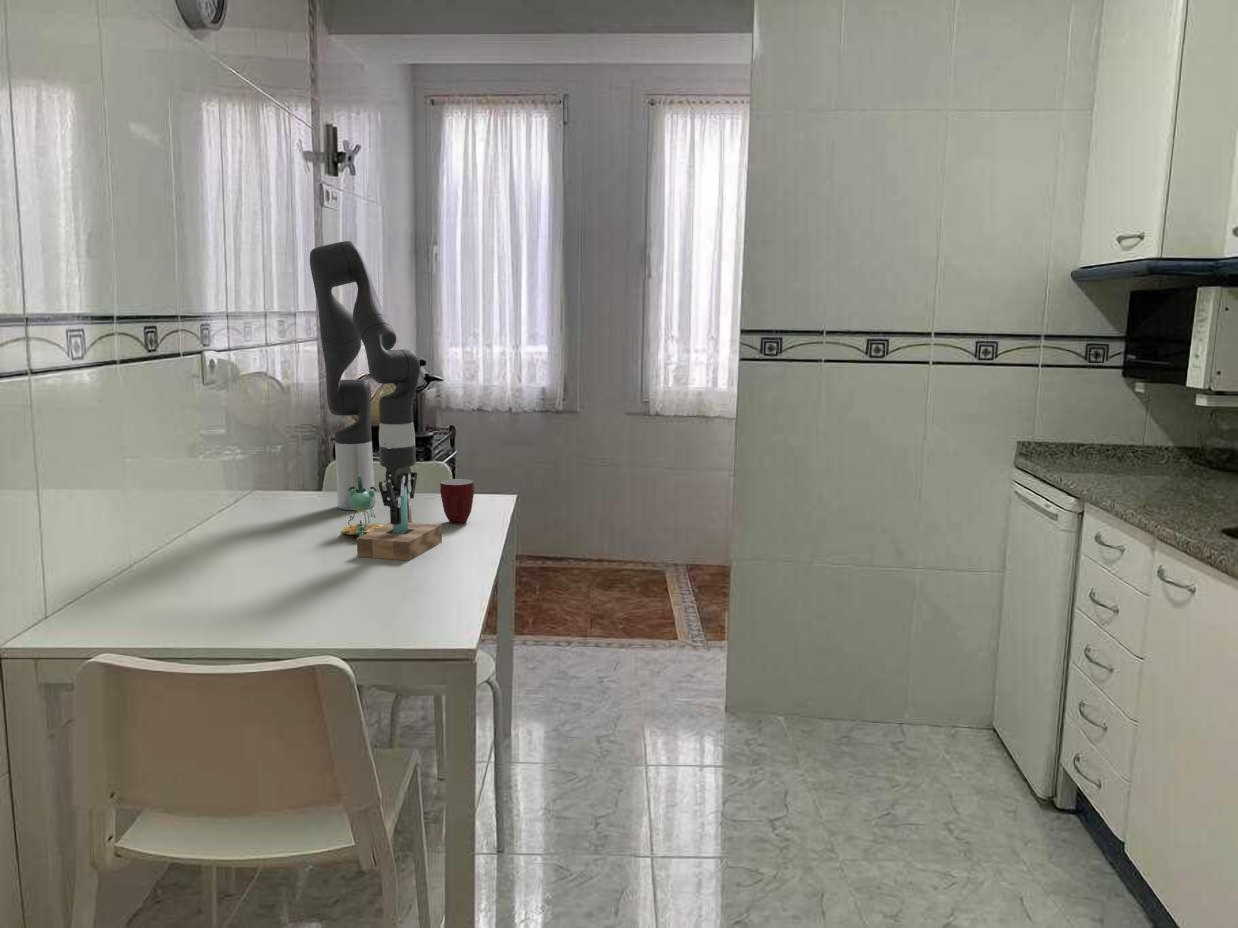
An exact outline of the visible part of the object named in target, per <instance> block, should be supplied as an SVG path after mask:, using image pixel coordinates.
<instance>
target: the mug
mask: <svg viewBox="0 0 1238 928" xmlns="http://www.w3.org/2000/svg"><path fill="white" fill-rule="evenodd" d="M439 484H440V487H439V488H440V491H439V492H440V499H441V501H442V502H441V503H442V508H443V512H444V514H445V516H446V518H447V520H448V522H449V523H450V524H452V525H453V524H454V525H455V524H456V525H459V524H464V523H467V521H468V519H469V517H470V515H471V512H472V508H473V503H474V502H473V501H474V494H475V482H474V480H472V479H467V478H452V479H445V480H444V479H443V480H442V481H440V482H439Z"/></svg>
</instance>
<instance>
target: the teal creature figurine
mask: <svg viewBox="0 0 1238 928" xmlns="http://www.w3.org/2000/svg"><path fill="white" fill-rule="evenodd" d="M357 480H358V489H357V488H356V489H355V487H353V486H352V487H350V488H349V491H350V490H351V489H355V490H351V491H350V496H351V503H350V504H349V505H352V507H353V508H354V509H355V510H354V513H353V516H351V515H349V519H348V520H347V521H348V522H347V523H348V526H347V525H346V526H344V527H343V528H342V530H340V532H341V533H343V534H346V535H352V536H353V535H354V536H355V535H356V536H357V537H360V536H363V535H365V534H367V533H369V532H371V531H373V530H375V529H378V528H380V527H382V526H383V525H382V524H379V523H371V522H372V521H371V520H370V517H371V518H374V519H376V515H375V513H374V510H373V509H372V508H373V507H372V497H373V496H374V491H369V493H368V492H367V491H366V488H364V489H363V486H362V478H361V476H358V477H357ZM370 489H373V490H375V492H377V489H376V487H375V488H374V487H370ZM350 507H351V506H348V507H347V508H349V509H350ZM369 509H370V516H369V512H368V511H367V510H369ZM357 512H359V513H363V516H364V522H365V523H362V519H360V520H359V523H355V524H354V525H353V524H352V525H350V521H354V518H355V515H356V513H357ZM366 514H367V518H368V519H366ZM367 521H368V523H367ZM355 540H356V541H357V538H355Z"/></svg>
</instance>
